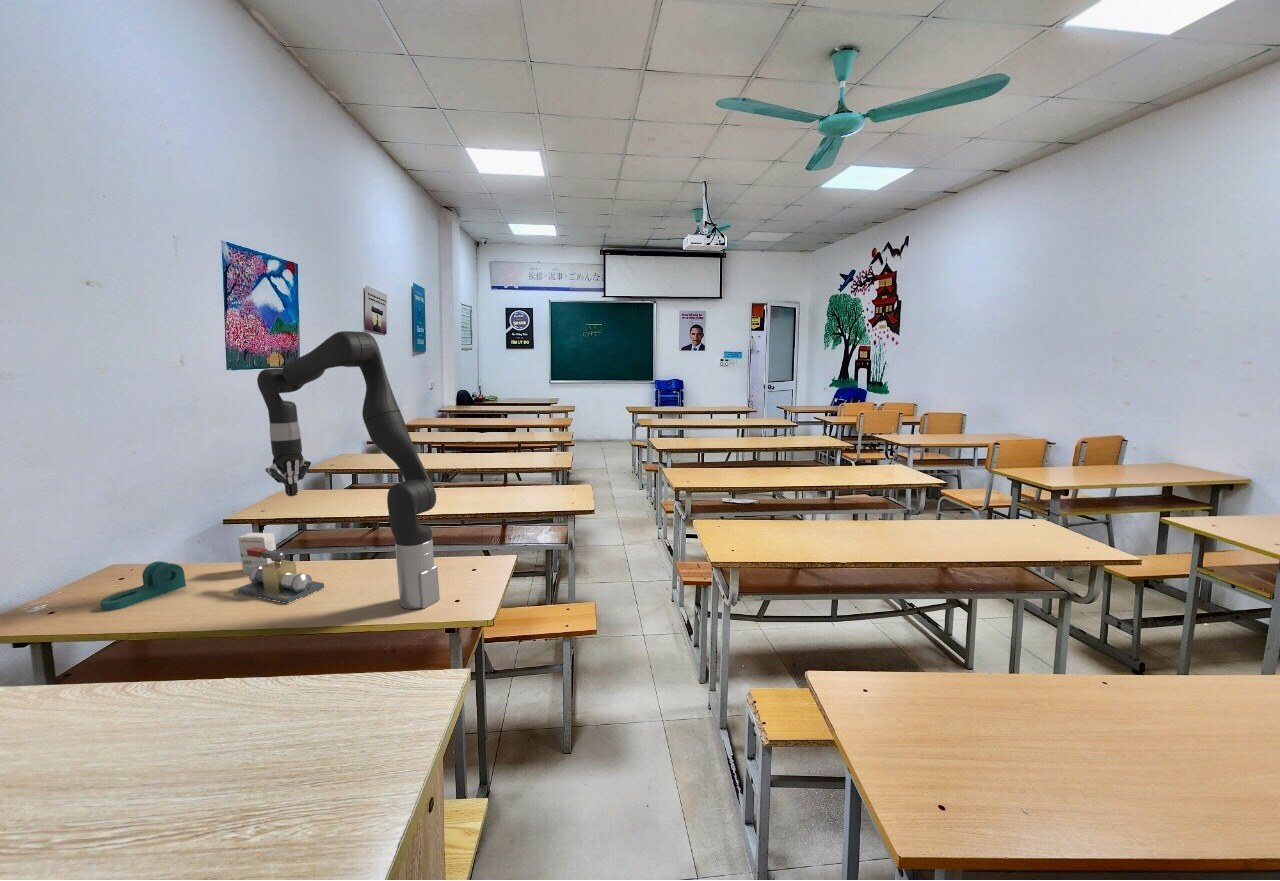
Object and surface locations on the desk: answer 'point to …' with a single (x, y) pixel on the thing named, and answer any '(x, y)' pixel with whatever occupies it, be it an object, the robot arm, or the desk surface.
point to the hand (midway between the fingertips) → (292, 495)
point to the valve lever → (265, 553)
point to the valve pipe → (279, 582)
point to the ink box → (255, 541)
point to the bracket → (148, 586)
